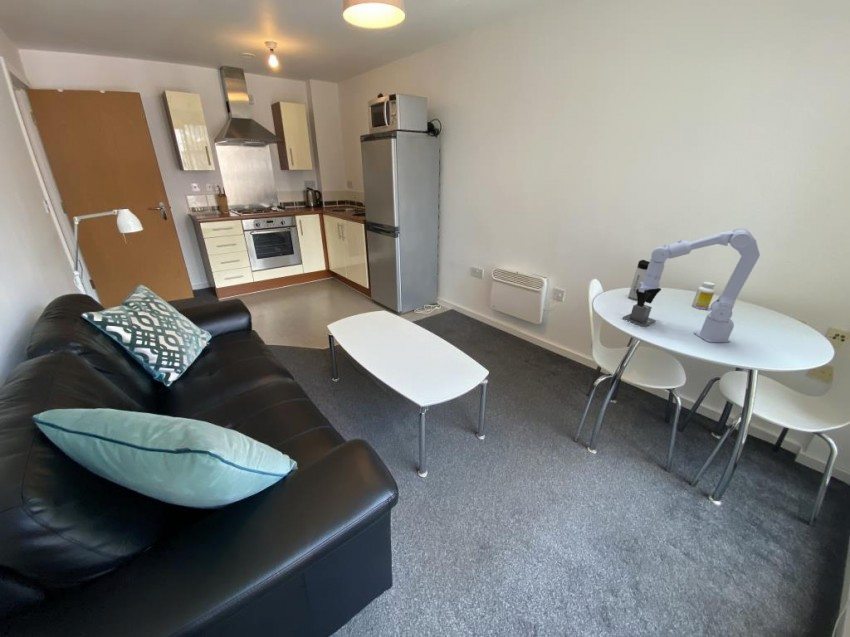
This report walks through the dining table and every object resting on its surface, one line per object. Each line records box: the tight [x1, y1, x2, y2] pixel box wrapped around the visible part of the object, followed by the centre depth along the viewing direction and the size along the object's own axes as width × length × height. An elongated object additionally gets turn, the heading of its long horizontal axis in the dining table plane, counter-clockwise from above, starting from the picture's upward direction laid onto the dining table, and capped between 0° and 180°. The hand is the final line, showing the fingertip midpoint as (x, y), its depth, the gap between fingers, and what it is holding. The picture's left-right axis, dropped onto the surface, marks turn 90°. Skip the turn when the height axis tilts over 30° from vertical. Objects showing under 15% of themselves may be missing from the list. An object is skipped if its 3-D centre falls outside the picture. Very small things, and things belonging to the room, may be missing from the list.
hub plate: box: [622, 313, 657, 328], centre depth 159 cm, size 10×10×4 cm
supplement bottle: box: [691, 281, 716, 310], centre depth 175 cm, size 7×7×13 cm
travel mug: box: [627, 259, 650, 301], centre depth 182 cm, size 6×7×20 cm
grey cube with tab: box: [630, 303, 653, 322], centre depth 158 cm, size 5×5×6 cm
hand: (644, 304), depth 157 cm, fingers open, 7 cm apart
